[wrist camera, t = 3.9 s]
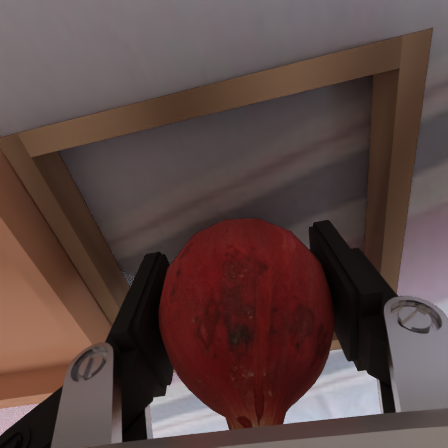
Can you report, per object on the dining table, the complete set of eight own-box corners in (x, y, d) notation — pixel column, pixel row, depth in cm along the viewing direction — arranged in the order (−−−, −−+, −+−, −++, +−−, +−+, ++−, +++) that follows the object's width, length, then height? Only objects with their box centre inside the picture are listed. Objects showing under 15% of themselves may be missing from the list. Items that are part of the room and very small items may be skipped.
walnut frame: (400, 36, 8) (432, 27, 7) (374, 319, 15) (389, 342, 14) (25, 131, 10) (-5, 138, 8) (151, 352, 16) (144, 376, 15)
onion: (167, 191, 11) (69, 386, 4) (304, 181, 11) (454, 368, 4) (187, 293, 14) (150, 512, 7) (296, 286, 14) (373, 506, 7)
